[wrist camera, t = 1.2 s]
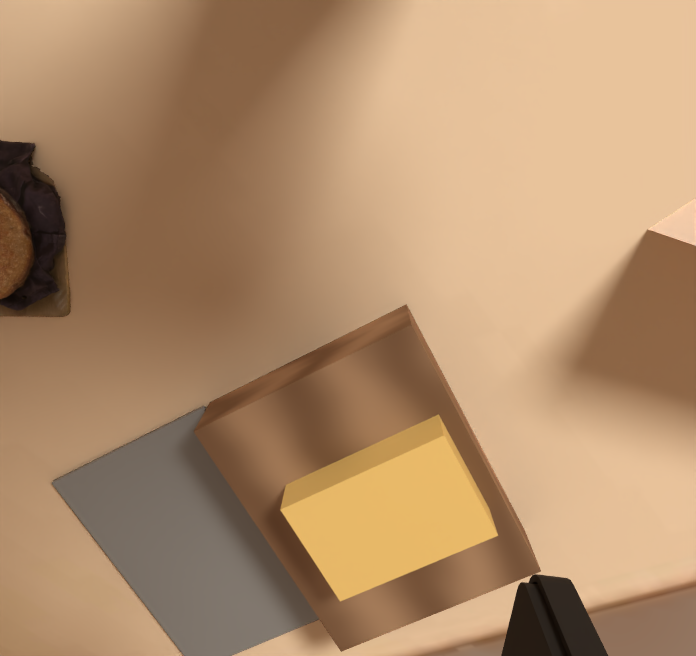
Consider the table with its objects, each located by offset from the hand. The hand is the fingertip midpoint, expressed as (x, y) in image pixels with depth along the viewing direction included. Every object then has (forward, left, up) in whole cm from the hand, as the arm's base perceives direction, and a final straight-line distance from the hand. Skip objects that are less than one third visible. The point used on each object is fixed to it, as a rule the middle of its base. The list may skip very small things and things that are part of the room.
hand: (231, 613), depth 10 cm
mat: (+17, +13, -28) cm, 35 cm away
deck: (+4, +13, -28) cm, 31 cm away
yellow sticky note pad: (+3, +13, -24) cm, 27 cm away
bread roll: (+16, -11, -28) cm, 34 cm away
